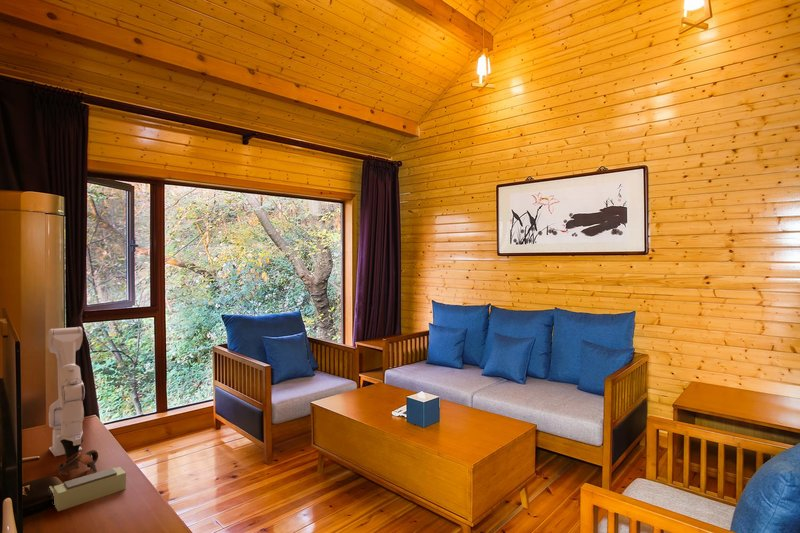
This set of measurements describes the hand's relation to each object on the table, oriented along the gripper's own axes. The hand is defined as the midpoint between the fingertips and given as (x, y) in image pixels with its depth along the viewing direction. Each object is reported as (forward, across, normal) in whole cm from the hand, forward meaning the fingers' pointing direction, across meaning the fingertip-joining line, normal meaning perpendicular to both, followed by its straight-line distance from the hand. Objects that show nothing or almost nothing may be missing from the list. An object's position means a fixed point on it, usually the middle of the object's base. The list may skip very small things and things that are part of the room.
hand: (71, 460), depth 150 cm
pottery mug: (+2, +10, 0) cm, 10 cm away
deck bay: (+1, +25, -1) cm, 25 cm away
